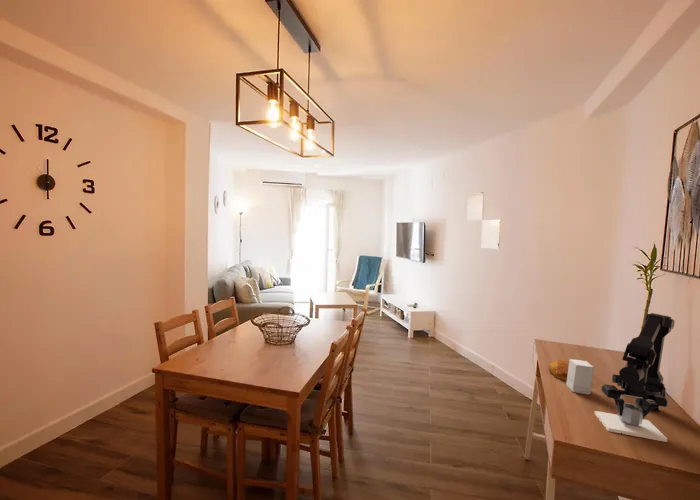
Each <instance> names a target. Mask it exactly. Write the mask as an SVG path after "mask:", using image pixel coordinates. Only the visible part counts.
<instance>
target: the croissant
mask: <svg viewBox="0 0 700 500" xmlns="http://www.w3.org/2000/svg"><path fill="white" fill-rule="evenodd" d="M568 367H569V361H565V360H562V359H561V360H560V359H558V360H556V361H553V362H551V363H549V365H548V371H549V373H550V374H552V376H553V377H555V378H557V379H558V380H562V381H566V382H567V375H568Z"/></svg>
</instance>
